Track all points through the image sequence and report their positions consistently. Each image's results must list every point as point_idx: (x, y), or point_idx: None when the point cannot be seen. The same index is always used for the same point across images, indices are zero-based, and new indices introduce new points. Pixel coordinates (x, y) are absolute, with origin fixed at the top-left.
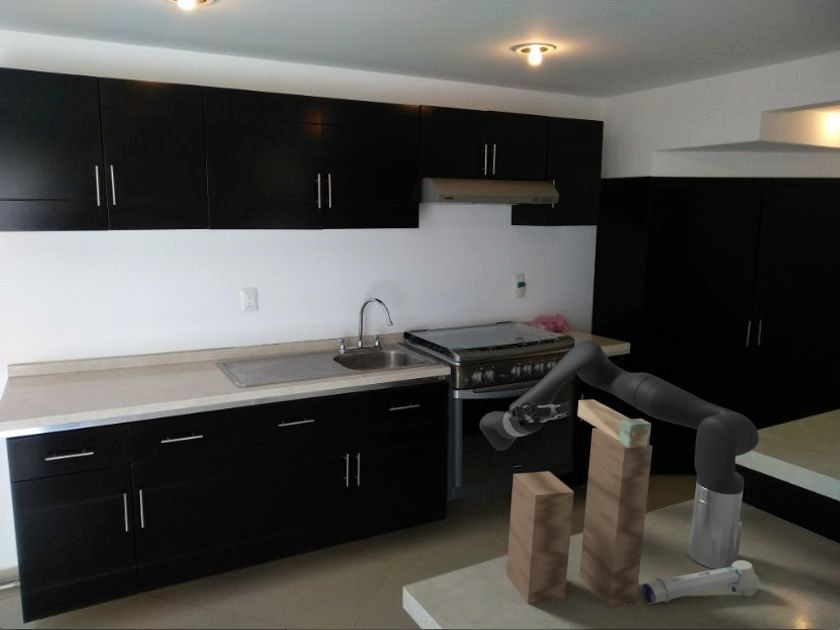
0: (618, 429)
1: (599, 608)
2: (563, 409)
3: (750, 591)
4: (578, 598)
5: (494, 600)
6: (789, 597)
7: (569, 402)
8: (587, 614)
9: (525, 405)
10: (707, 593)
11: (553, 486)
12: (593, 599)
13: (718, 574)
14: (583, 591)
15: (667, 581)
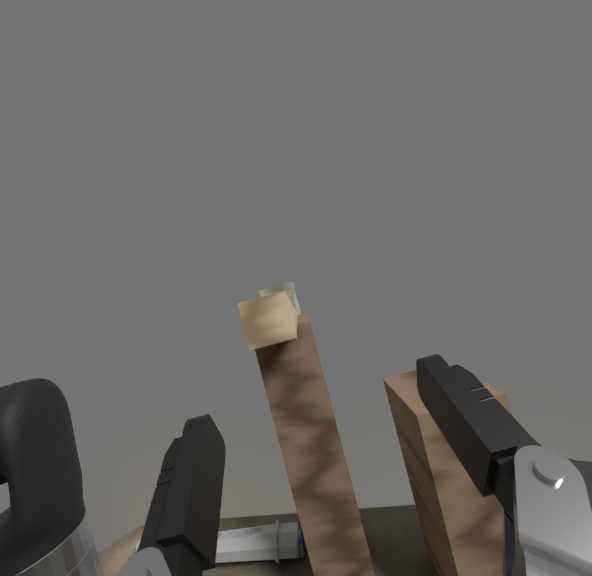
0: (293, 300)
1: (378, 531)
2: (211, 502)
3: None
4: (405, 553)
5: None
6: (120, 566)
7: (195, 418)
8: (398, 519)
9: (540, 457)
10: (207, 572)
11: (414, 381)
12: (381, 551)
13: None
14: (392, 573)
15: (269, 527)
